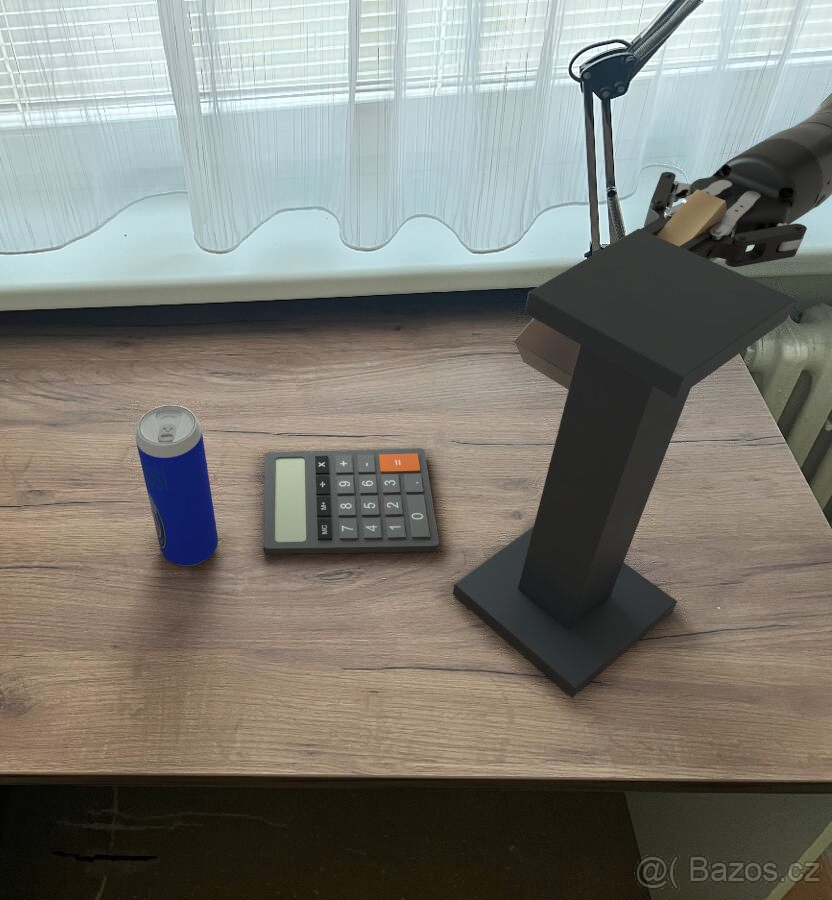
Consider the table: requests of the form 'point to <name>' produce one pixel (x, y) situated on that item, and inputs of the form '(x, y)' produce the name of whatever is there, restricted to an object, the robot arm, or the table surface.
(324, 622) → the table surface
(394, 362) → the table surface
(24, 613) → the table surface
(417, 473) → the calculator
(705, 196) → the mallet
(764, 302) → the stand
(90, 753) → the table surface
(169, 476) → the beverage can
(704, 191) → the robot arm
